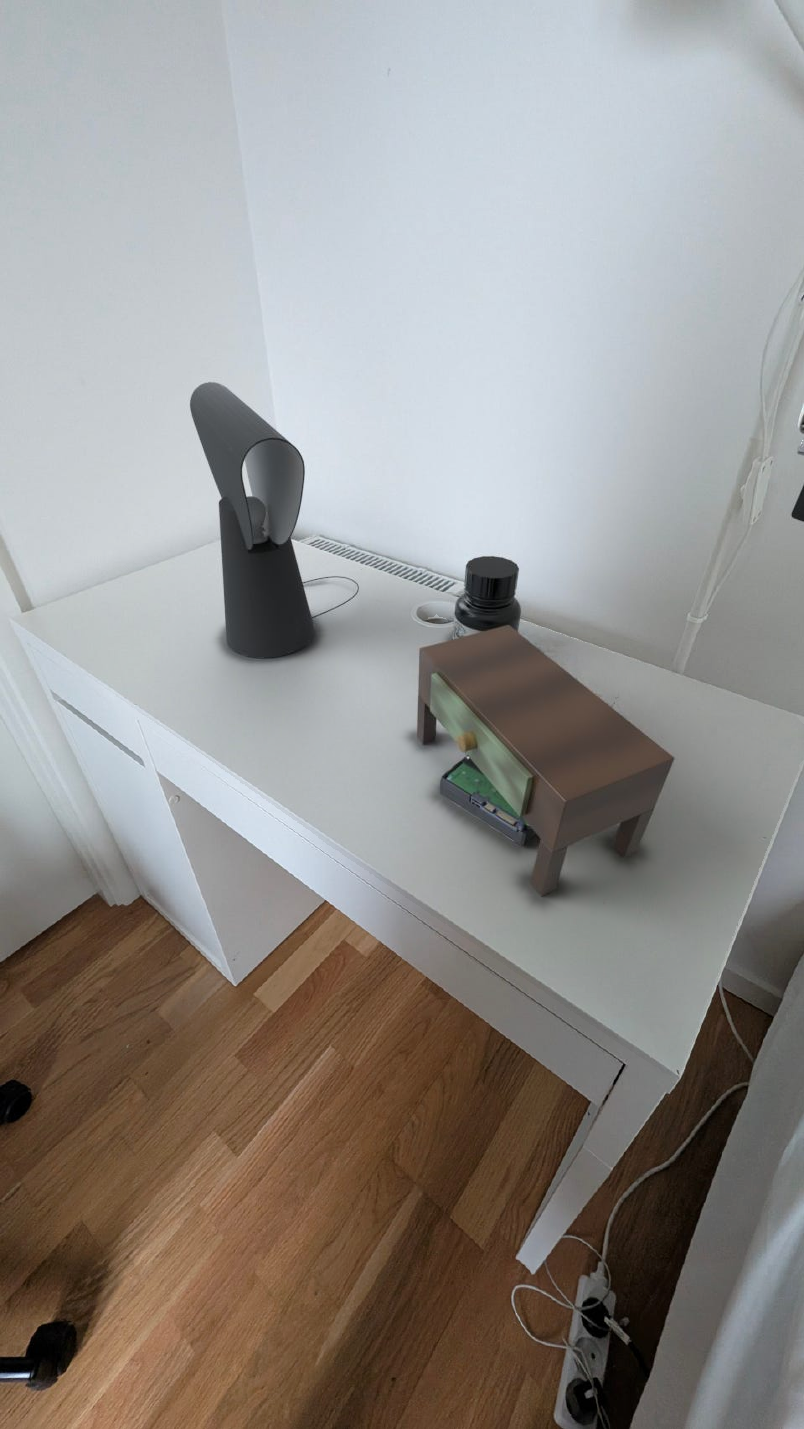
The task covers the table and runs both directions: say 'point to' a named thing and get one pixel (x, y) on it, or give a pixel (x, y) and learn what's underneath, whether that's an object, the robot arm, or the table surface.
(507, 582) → the ink bottle
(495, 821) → the disk drive
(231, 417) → the table lamp
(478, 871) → the table surface
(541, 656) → the drawer unit
